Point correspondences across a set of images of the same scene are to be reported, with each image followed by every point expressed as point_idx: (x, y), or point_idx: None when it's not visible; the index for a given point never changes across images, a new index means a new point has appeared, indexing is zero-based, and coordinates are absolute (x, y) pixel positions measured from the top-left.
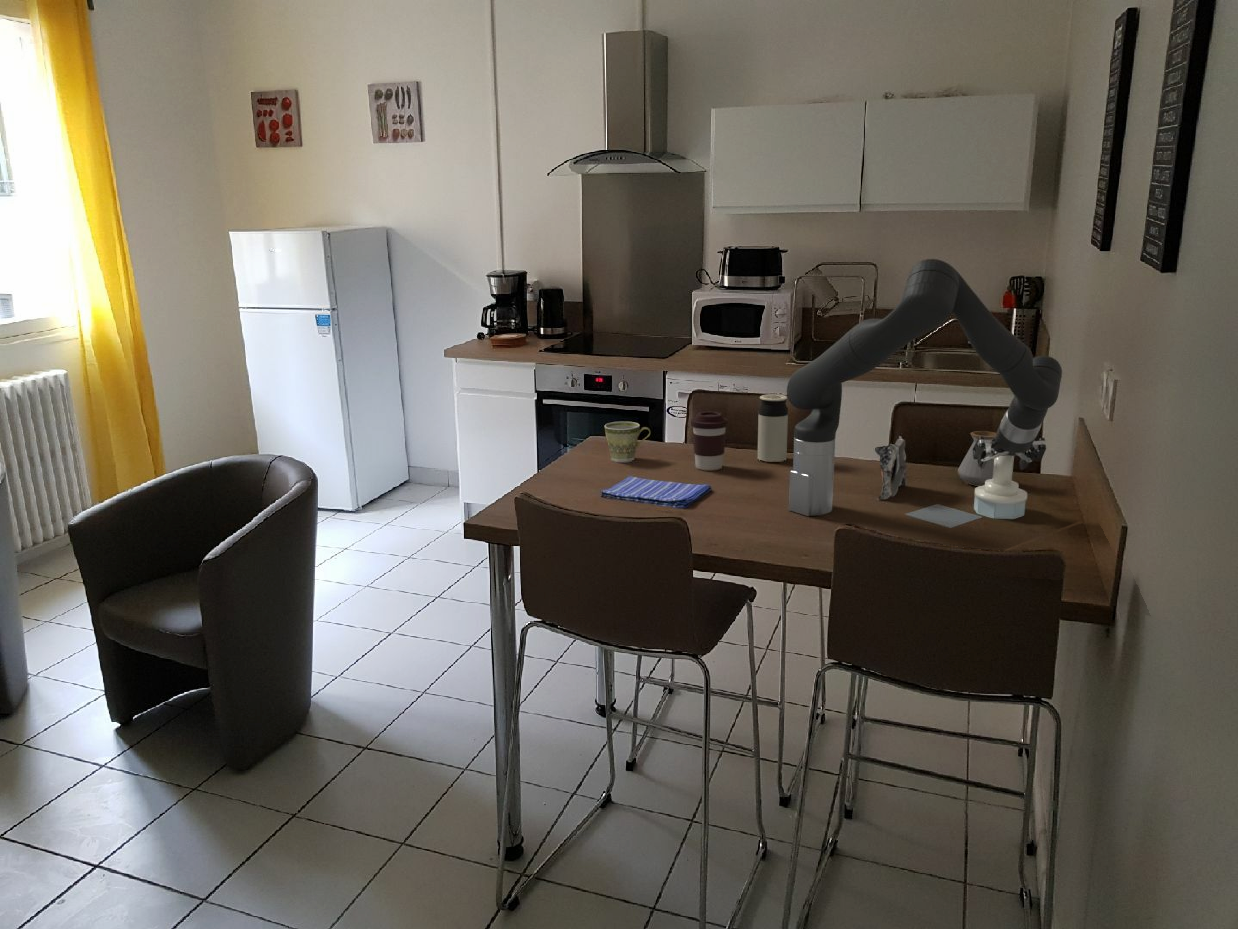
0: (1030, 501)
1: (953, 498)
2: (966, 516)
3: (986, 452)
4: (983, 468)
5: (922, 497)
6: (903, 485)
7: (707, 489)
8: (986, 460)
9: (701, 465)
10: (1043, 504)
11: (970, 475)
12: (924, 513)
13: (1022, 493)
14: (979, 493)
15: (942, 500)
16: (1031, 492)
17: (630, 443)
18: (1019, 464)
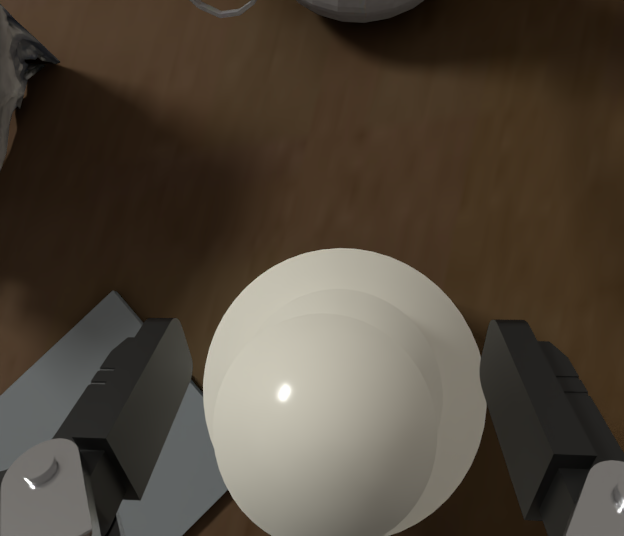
0: (519, 183)
1: (207, 182)
2: (185, 462)
3: (88, 483)
4: (187, 379)
5: (92, 184)
6: (53, 60)
7: None
8: (120, 527)
9: None
10: (569, 220)
11: None
12: (26, 429)
13: (456, 416)
14: (212, 434)
15: (158, 214)
16: (547, 57)
17: None
18: (487, 333)
